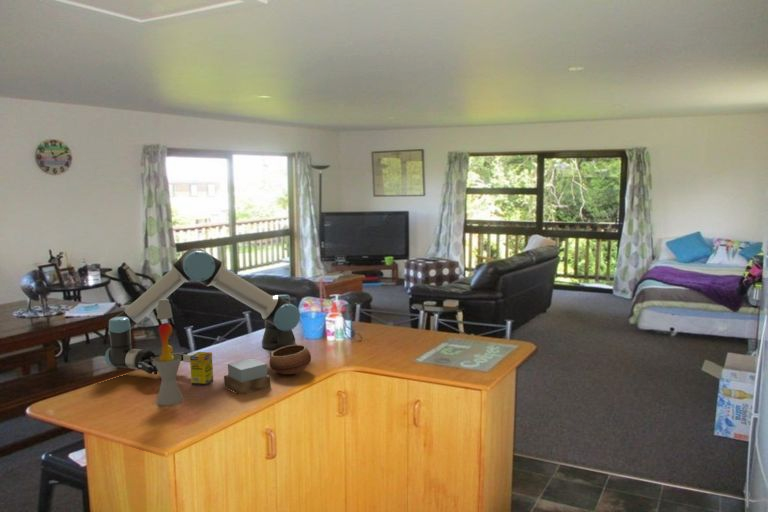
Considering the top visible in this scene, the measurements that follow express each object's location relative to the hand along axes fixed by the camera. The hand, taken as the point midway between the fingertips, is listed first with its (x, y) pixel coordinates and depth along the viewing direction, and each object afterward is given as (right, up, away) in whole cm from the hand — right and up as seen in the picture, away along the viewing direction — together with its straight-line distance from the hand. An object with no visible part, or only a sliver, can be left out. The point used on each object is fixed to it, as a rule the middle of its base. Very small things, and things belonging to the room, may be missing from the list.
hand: (185, 364), depth 219 cm
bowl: (+38, -5, +8) cm, 39 cm away
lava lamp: (+1, -9, -19) cm, 21 cm away
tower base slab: (+25, -7, -7) cm, 27 cm away
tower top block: (+25, -3, -8) cm, 26 cm away
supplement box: (+7, -7, -1) cm, 10 cm away
